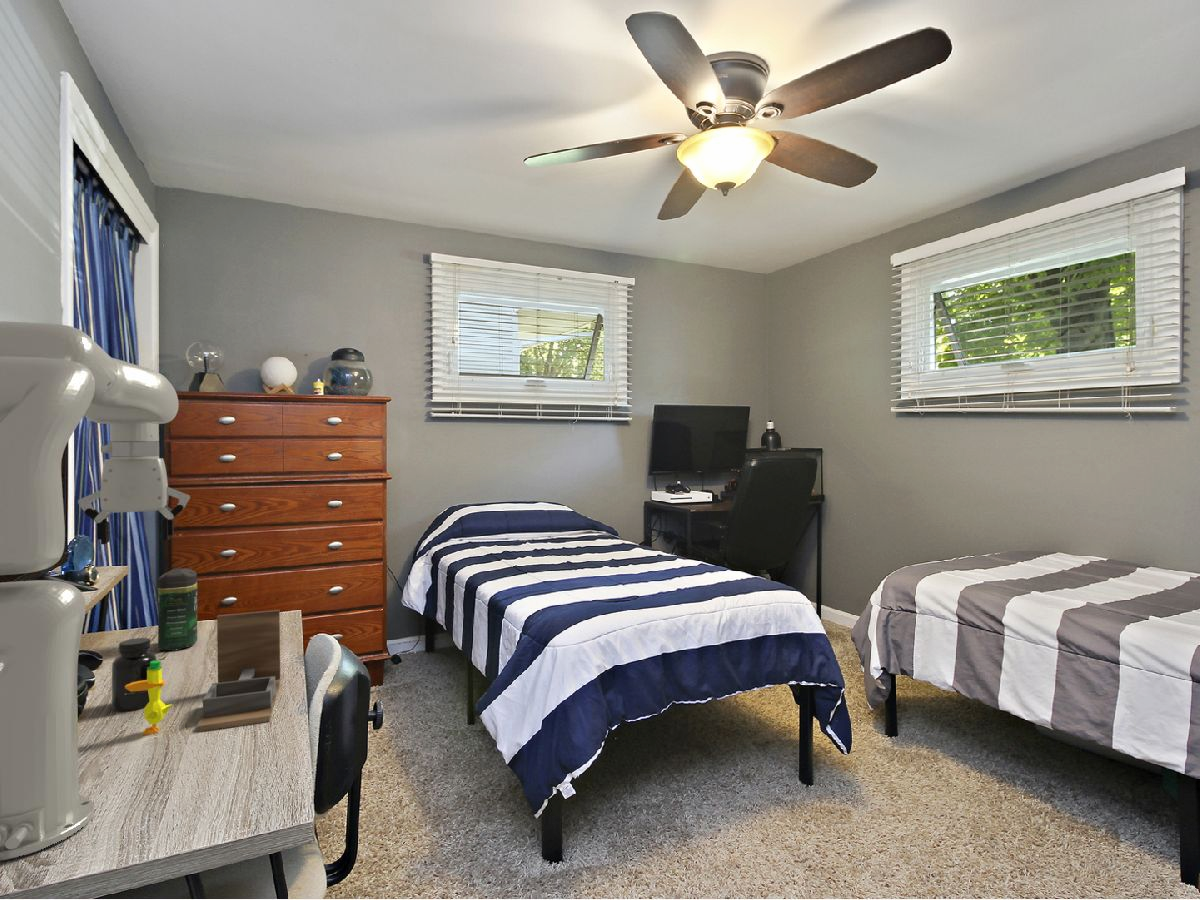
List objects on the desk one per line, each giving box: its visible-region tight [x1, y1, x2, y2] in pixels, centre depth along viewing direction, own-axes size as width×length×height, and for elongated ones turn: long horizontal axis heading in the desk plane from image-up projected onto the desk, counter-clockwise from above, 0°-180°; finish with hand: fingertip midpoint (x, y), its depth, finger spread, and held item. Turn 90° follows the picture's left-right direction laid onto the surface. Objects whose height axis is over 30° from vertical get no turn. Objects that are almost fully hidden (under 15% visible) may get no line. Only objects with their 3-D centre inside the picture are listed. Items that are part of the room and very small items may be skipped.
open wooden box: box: [196, 609, 281, 733], centre depth 121 cm, size 20×11×15 cm, turn 21°
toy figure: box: [125, 659, 173, 736], centre depth 110 cm, size 7×4×12 cm, turn 112°
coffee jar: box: [157, 567, 198, 651], centre depth 157 cm, size 10×8×19 cm
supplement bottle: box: [111, 637, 157, 712], centre depth 121 cm, size 7×7×12 cm
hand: (136, 541), depth 123 cm, fingers open, 9 cm apart
